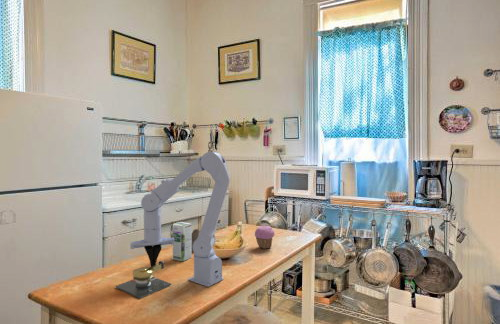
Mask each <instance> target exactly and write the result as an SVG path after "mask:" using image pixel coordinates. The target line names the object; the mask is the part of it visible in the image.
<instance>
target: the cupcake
mask: <svg viewBox="0 0 500 324" xmlns="http://www.w3.org/2000/svg"><path fill="white" fill-rule="evenodd" d="M254 237H255V240H256V242H257V246H258V248H260V249H261V248H262V249H264V250H266V249H270V248H271V247H272V243H273V237H275V230H274V229H273V228H272V227H271V226H269V225H261V226H258V227H257V228H256V230H255V232H254Z"/></svg>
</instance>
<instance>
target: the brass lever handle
mask: <svg viewBox="0 0 500 324" xmlns="http://www.w3.org/2000/svg"><path fill="white" fill-rule="evenodd" d="M163 269H165V261H164V260H160V261H158V263H156V265H154V266H143V267H137V268H135V269H134V270H133V271H132V279H136V280H146V279H149V278H152V277H154V276H155V274H154V272H157V271H159V270H163Z"/></svg>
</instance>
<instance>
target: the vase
mask: <svg viewBox="0 0 500 324" xmlns="http://www.w3.org/2000/svg"><path fill="white" fill-rule="evenodd" d="M199 233H200V229H198V228H197V229H196V228H195V229H192V246H193V243H194V241H195V240H196V239H197V238H198V235H199ZM192 251H193V249H192Z"/></svg>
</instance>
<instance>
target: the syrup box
mask: <svg viewBox="0 0 500 324" xmlns="http://www.w3.org/2000/svg"><path fill="white" fill-rule="evenodd" d="M192 227H193V225H192V222H183V221H178V222H175V223H173V224H172V238H174V244H172V260H173V261H179V262H185V261H187V260H190V259H191V258H192V256H193V254H192V252H193V250H192V232H193V229H192Z"/></svg>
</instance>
